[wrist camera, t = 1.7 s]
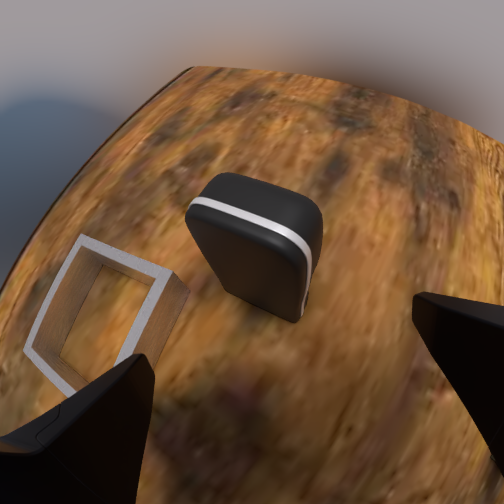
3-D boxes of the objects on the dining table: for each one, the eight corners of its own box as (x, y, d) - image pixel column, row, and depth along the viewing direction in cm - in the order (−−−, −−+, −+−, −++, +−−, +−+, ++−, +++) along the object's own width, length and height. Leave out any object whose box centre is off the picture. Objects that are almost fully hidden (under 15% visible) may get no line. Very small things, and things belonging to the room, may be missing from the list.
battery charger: (319, 285, 22) (337, 191, 12) (299, 327, 21) (305, 258, 11) (244, 253, 25) (212, 153, 15) (221, 290, 23) (170, 204, 13)
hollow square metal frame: (190, 290, 24) (172, 270, 20) (129, 424, 18) (101, 425, 15) (102, 253, 27) (81, 233, 23) (50, 359, 22) (22, 350, 18)
